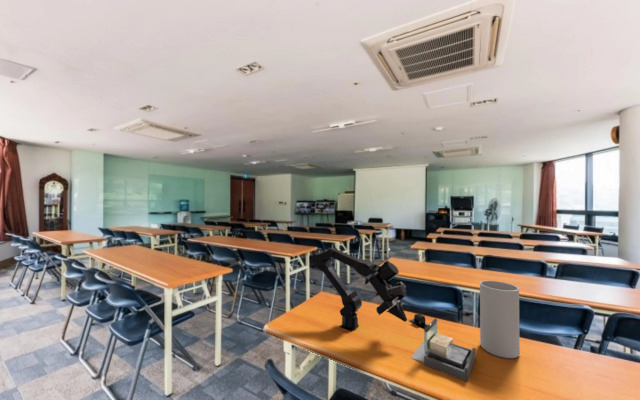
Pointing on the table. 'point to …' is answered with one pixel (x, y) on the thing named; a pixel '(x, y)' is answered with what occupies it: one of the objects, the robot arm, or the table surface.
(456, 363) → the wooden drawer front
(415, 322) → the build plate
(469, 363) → the dock
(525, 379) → the table surface
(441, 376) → the table surface
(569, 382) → the table surface
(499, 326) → the cylinder vase
